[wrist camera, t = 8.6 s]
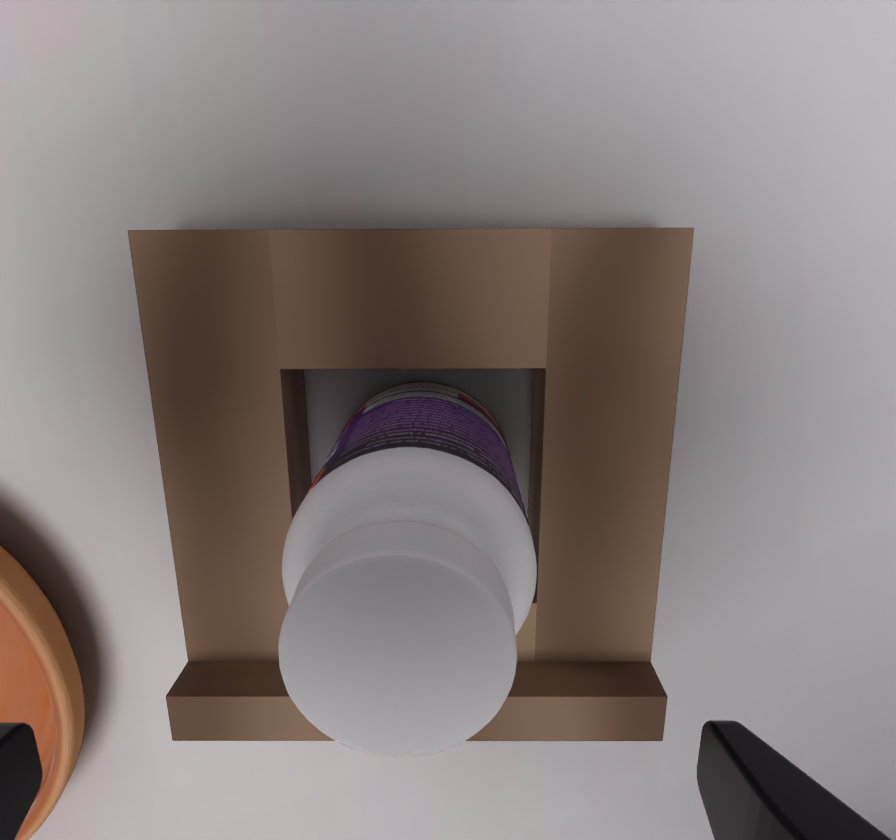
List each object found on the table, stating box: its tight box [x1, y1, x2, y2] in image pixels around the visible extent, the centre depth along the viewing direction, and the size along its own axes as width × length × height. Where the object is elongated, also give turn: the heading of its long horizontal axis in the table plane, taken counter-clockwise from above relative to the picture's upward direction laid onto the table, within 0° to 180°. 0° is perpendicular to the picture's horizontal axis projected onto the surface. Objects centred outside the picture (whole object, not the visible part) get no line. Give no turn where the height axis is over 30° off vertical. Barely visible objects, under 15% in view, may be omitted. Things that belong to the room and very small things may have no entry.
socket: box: [128, 228, 694, 741], centre depth 17 cm, size 14×14×4 cm
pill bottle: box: [278, 382, 537, 757], centre depth 15 cm, size 5×5×10 cm
